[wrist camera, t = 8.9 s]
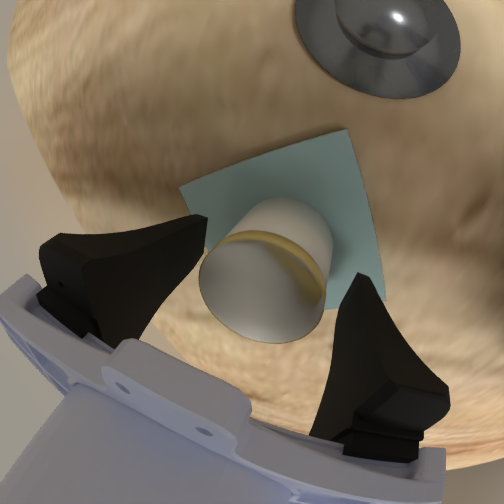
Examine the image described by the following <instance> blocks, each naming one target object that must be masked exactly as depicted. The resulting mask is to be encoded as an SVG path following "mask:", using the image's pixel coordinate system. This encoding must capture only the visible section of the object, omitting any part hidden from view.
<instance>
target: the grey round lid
mask: <svg viewBox="0 0 504 504" xmlns="http://www.w3.org/2000/svg"><path fill="white" fill-rule="evenodd" d="M295 16H296V23H297V27H298V31H299V33H300V36H301V38H302V40H303V42H304V44H305V45H306V47H307V49H308V50H309V52H310V53H311V54H312V56H313V57H314V58H315V60H316V61H317V62H318V63H319V64H320V65H321V66H322V67H323V68H324V69H325V70H326V71H328V72H329V73H330V74H331V75H332V76H334V77H335V78H337V79H338V80H339V81H341V82H343V83H345V84H346V85H348V86H350V87H352V88H354V89H356V90H359V91H361V92H364V93H367V94H370V95H374V96H378V97H382V98H390V99H406V98H415V97H419V96H423V95H426V94H428V93H431V92H433V91H435V90H436V89H438V88H440V87H441V86H442V85H443V84H444V83H446V82H447V81H448V79H449V78H450V77H451V76H452V74H453V73H454V71H455V69H456V67H457V64H458V61H459V57H460V35H459V31H458V27H457V24H456V21H455V19H454V17H453V15H452V13H451V11H450V9H449V8H448V6H447V5H446V3H445V2H444V1H443V0H297V1H296V8H295Z"/></svg>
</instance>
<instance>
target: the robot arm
mask: <svg viewBox="0 0 504 504" xmlns="http://www.w3.org/2000/svg"><path fill="white" fill-rule="evenodd" d="M207 223H208V217H205V216H202V215H199V214H193V215H189V216H185V217H182V218H178V219H175V220H171V221H168V222H165V223H161V224H157V225H153V226H149V227H146V228H141V229H137V230H131V231H125V232H117V233H107V234H67V233H59V234H57V235H56V236H54V237H53V238H51V239H50V240H48V241H47V242H45V243H44V244H42V245H41V246H40V249H39V260H40V264H41V267H42V271H43V274H44V277H45V280H46V283H47V286H46V287H44V288H43V289H42V288H41V286H40V284H39V283H38V282H37V281H35V280H34V279H33V278H32V277H31V276H30V275H28V274H25V275H24V276H23V277H21V278H20V279H19V280H18V281H16V282H15V283H14V284H13V285H11V286H10V287H9V288H8V289H7V290H6V291H4V292H3V293H2V294H1V295H0V322H1V324H2V325H3V327H4V329H5V330H6V332H7V334H8V336H9V337H10V339H11V340H12V341H13V343H14V344H15V345H16V346H17V347H18V348H19V349H20V351H21V352H22V353H23V354H24V355H25V356H26V357H27V358H28V359H29V361H30V362H31V363H32V364H33V365H34V366H35V367H36V368H37V369H38V370H39V371H40V372H41V373H42V374H43V375H44V377H46V379H47V380H48V381H49V382H50V383H51V384H52V385H53V386H54V387H56V388H57V389H58V390H59V391H60V392H61V393H62V394H63V395H64V396H65V398H64V399H63V400H62V401H61V403H60V404H59V405H58V406H57V408H56V409H55V410H54V411H53V413H52V414H51V415H50V416H49V418H48V419H47V420H46V422H45V423H44V424H43V425H42V427H41V428H40V429H39V431H38V432H37V433H36V435H35V436H34V437H33V438H32V440H31V441H30V442H29V444H28V445H27V446H26V448H25V449H24V451H23V452H22V453H21V455H20V456H19V458H18V459H17V460H16V462H15V463H14V464H13V466H12V467H11V469H10V470H9V472H8V473H7V474H6V476H5V477H4V479H3V480H2V482H1V483H0V504H441V503H442V502H443V498H444V487H445V472H446V449H445V448H437V447H423V448H419V441H422V440H423V438H424V431H425V430H426V429H428V428H430V427H431V426H433V425H434V424H436V423H437V422H438V421H440V420H441V419H442V418H443V417H445V415H446V414H447V413H448V411H449V410H450V406H451V405H450V395H449V387H448V385H446V384H445V383H444V382H443V381H442V380H441V379H440V378H439V377H437V376H436V375H435V374H434V373H433V372H432V371H431V370H430V369H429V368H428V367H427V366H426V365H425V364H424V363H423V361H422V360H421V359H420V358H419V357H418V356H417V355H416V353H415V352H414V351H413V350H412V348H411V347H410V346H409V345H408V343H407V342H406V340H405V339H404V338H403V336H402V335H401V333H400V332H399V330H398V329H397V327H396V325H395V324H394V322H393V320H392V319H391V317H390V315H389V313H388V312H387V310H386V308H385V306H384V304H383V302H382V300H381V298H380V296H379V294H378V292H377V290H376V288H375V286H374V284H373V282H372V280H371V278H370V277H369V276H367V275H364V274H361V273H359V272H357V274H356V276H355V277H354V279H353V281H352V283H351V285H350V287H349V289H348V291H347V292H346V294H345V296H344V298H343V300H342V302H341V303H340V306H339V310H338V314H337V319H336V324H335V333H334V342H333V351H332V360H331V366H330V371H329V375H328V379H327V383H326V387H325V390H324V393H323V397H322V400H321V403H320V406H319V409H318V412H317V415H316V418H315V420H314V423H313V426H312V428H311V431H310V433H309V436H308V435H304V434H301V433H297V432H294V431H290V430H287V429H284V428H281V427H278V426H275V425H272V424H269V423H266V422H263V421H260V420H257V419H254V418H252V417H250V415H251V412H252V406H251V401H250V400H249V399H248V398H247V397H246V395H245V394H244V393H243V392H242V391H241V390H240V389H238V388H236V387H235V386H233V385H231V384H229V383H227V382H226V381H224V380H222V379H220V378H217V377H215V376H213V375H210V374H208V373H206V372H204V371H202V370H199V369H197V368H195V367H193V366H191V365H189V364H187V363H185V362H182V361H181V360H178V359H177V358H175V357H173V356H171V355H169V354H167V353H164V352H163V351H161V350H159V349H157V348H155V347H153V346H151V345H150V344H148V343H145V342H142V341H140V340H139V338H140V336H141V335H142V333H143V331H144V330H145V328H146V326H147V325H148V323H149V322H150V320H151V319H152V317H153V316H154V314H155V313H156V312H157V310H158V309H159V307H160V306H161V304H162V303H163V302H164V301H165V299H166V298H167V297H168V296H169V295H170V294H171V293H172V291H173V290H174V289H175V288H176V287H177V286H178V285H179V284H180V283H181V282H182V280H183V279H184V278H185V277H186V276H187V275H188V274H189V273H190V272H191V270H192V269H193V268H194V267H195V265H196V264H197V262H198V261H199V259H200V258H201V256H202V255H203V253H204V245H205V238H206V230H207Z"/></svg>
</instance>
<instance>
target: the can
mask: <svg viewBox="0 0 504 504" xmlns="http://www.w3.org/2000/svg"><path fill="white" fill-rule="evenodd" d="M332 253H333V237H332V233H331V230H330V227H329V225H328V223H327V222H326V220H325V219H324V217H323V216H322V215H321V214H320V213H319V212H318V211H317V210H316V209H315V208H314V207H312V206H310V205H309V204H307V203H305V202H303V201H301V200H298V199H294V198H289V197H274V198H269V199H266V200H264V201H262V202H260V203H258V204H257V205H255V206H254V207H253V208H252V209H251V210H250V211H249V212H248V213H247V214H246V215H245V216H244V217H243V218H242V219H241V220H240V221H239V222H238V223H237V224H236V226H235V227H234V228H233V229H232V230H231V231H230V232H229V233H228V234H227V235H226V236H225V237H224V238H223V239H222V240H221V241H219V242H218V243H217V244H216V245H215V246H214V247H213V248H212V250H211V251H210V252H209V253H208V254H207V255H206V257H205V258H204V260H203V262H202V264H201V267H200V270H199V287H200V292H201V295H202V297H203V300H204V302H205V304H206V305H207V307H208V309H209V310H210V311H211V313H212V314H213V315H214V316H215V317H216V318H217V319H218V320H219V321H220V322H221V323H222V324H223V325H224V326H226V327H227V328H228V329H230V330H231V331H233V332H235V333H236V334H238V335H240V336H242V337H245V338H247V339H250V340H253V341H257V342H262V343H269V344H281V343H288V342H293V341H296V340H299V339H301V338H303V337H305V336H306V335H308V334H309V333H310V332H311V331H312V330H314V329H315V327H316V326H317V325H318V323H319V322H320V320H321V318H322V315H323V312H324V307H325V301H326V289H327V283H328V278H329V272H330V266H331V259H332Z"/></svg>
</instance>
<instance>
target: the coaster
mask: <svg viewBox="0 0 504 504" xmlns="http://www.w3.org/2000/svg"><path fill="white" fill-rule="evenodd" d="M179 189H180V192H181V194H182V196H183V198H184V200H185V202H186V205H187V207H188V209H189V211H190V213H191V215H193V214H199V215H202V216H205V217H208V223H207V230H206V238H205V245H206V247H207V249H208V251H209V252H210V251H211V250H212V248H213V247H214V246H215V245H216V244H217V243H218V242H219V241H221V240H222V239H223V238H224V237H225V236H226V235H227V234H228V233H229V232H230V231H231V230H232V229H233V228H234V227H235V226H236V224H237V223H238V222H239V221H240V220H241V219H242V218H243V217H244V216H245V215H246V214H247V213H248V212H249V211H250V210H251V209H252V208H253V207H254V206H255V205H257V204H258V203H260V202H262V201H264V200H266V199H269V198H274V197H289V198H294V199H298V200H301V201H303V202H305V203H307V204H309V205H310V206H312V207H314V208H315V209H316V210H317V211H318V212H319V213H320V214H321V215H322V216H323V217H324V219H325V220H326V222H327V223H328V225H329V227H330V230H331V233H332V237H333V253H332V259H331V266H330V272H329V278H328V283H327V289H326V301H325V307H324V310H327V309H335V308H339V306H340V303H341V302H342V300H343V298H344V296H345V294H346V292H347V291H348V289H349V287H350V285H351V283H352V281H353V279H354V277H355V276H356V274H357V272H359V273H361V274H364V275H367V276H369V277H370V278H371V280H372V282H373V284H374V286H375V288H376V290H377V292H378V294H379V296H380V298H381V300H382V301H386V291H385V284H384V277H383V271H382V265H381V259H380V254H379V248H378V243H377V238H376V233H375V228H374V224H373V219H372V215H371V210H370V206H369V202H368V198H367V194H366V190H365V187H364V183H363V179H362V176H361V172H360V169H359V165H358V162H357V158H356V155H355V152H354V149H353V146H352V143H351V139H350V136H349V134H348V131H347V128H346V129H342V130H338V131H335V132H331V133H327V134H324V135H320V136H317V137H313V138H310V139H307V140H303V141H300V142H297V143H294V144H291V145H288V146H284V147H281V148H278V149H275V150H272V151H269V152H266V153H264V154H261V155H258V156H255V157H252V158H249V159H247V160H244V161H241V162H238V163H236V164H233V165H230V166H228V167H225V168H223V169H220V170H217V171H215V172H212V173H210V174H207V175H205V176H202V177H200V178H198V179H195V180H193V181H190V182H188V183H186V184H184V185H182V186H180V187H179Z"/></svg>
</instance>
